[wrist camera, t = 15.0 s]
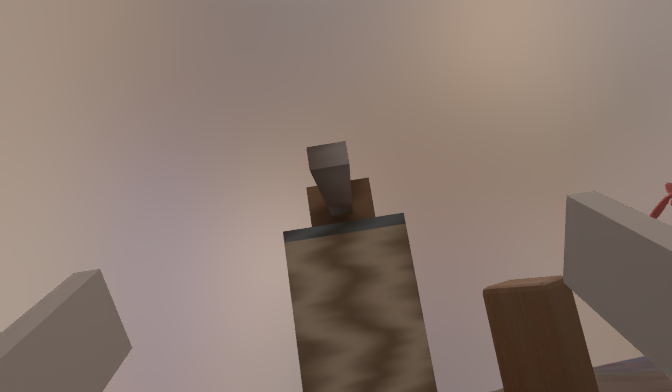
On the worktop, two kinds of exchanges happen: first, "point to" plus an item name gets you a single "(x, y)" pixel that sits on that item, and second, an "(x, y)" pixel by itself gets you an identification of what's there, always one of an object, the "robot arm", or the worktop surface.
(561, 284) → the wooden block
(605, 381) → the worktop surface
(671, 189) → the red flower sprig
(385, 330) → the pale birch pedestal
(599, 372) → the worktop surface
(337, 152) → the walnut pull block
